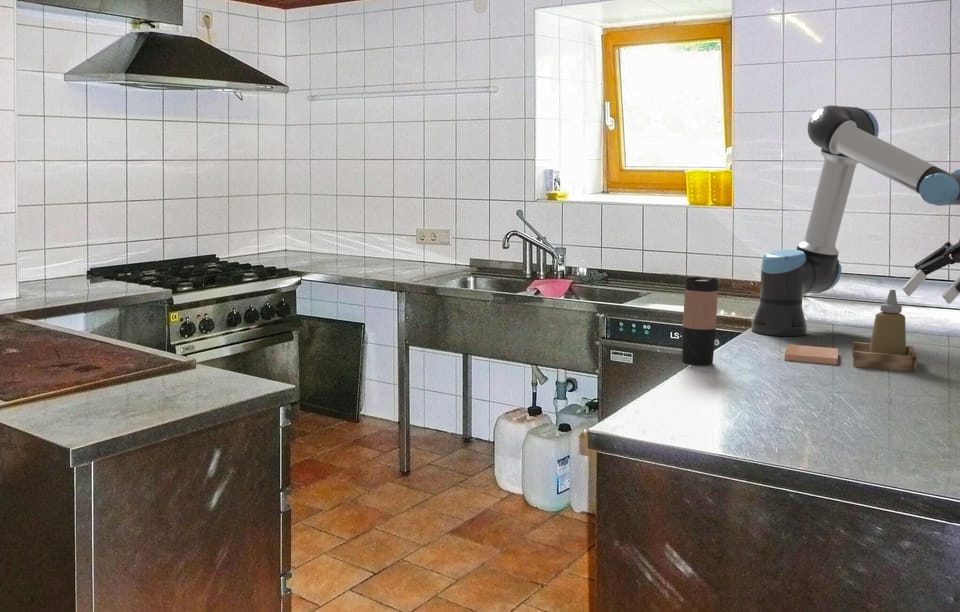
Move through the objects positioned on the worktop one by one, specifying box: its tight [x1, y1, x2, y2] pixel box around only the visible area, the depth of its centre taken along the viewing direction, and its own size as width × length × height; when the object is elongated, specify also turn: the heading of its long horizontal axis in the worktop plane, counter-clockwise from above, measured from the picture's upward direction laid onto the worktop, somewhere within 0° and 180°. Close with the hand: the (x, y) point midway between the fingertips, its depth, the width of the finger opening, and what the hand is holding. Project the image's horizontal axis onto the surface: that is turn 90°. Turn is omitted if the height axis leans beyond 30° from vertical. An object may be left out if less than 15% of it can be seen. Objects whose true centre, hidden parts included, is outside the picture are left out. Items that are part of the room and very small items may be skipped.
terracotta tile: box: [784, 344, 839, 366], centre depth 223 cm, size 12×14×2 cm
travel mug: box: [681, 277, 719, 367], centre depth 212 cm, size 8×8×20 cm
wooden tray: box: [852, 341, 918, 373], centre depth 217 cm, size 14×14×4 cm
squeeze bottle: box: [869, 289, 907, 355], centre depth 216 cm, size 8×8×18 cm
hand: (925, 295), depth 216 cm, fingers open, 13 cm apart
